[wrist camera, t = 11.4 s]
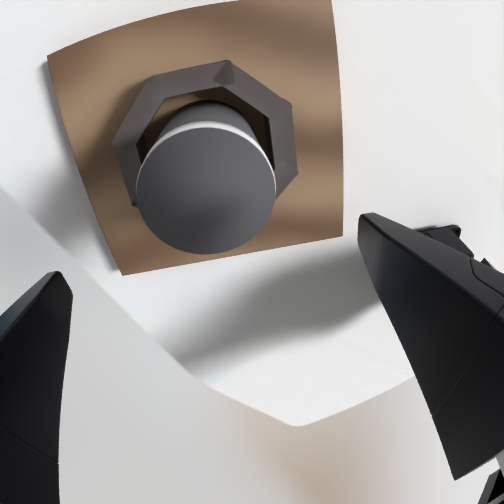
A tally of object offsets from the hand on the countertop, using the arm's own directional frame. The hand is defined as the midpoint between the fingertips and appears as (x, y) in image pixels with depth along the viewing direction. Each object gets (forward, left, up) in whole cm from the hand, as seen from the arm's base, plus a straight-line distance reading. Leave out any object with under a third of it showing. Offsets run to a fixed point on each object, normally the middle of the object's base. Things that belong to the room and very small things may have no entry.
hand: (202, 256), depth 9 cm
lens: (0, 0, -11) cm, 11 cm away
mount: (0, 0, -12) cm, 12 cm away
